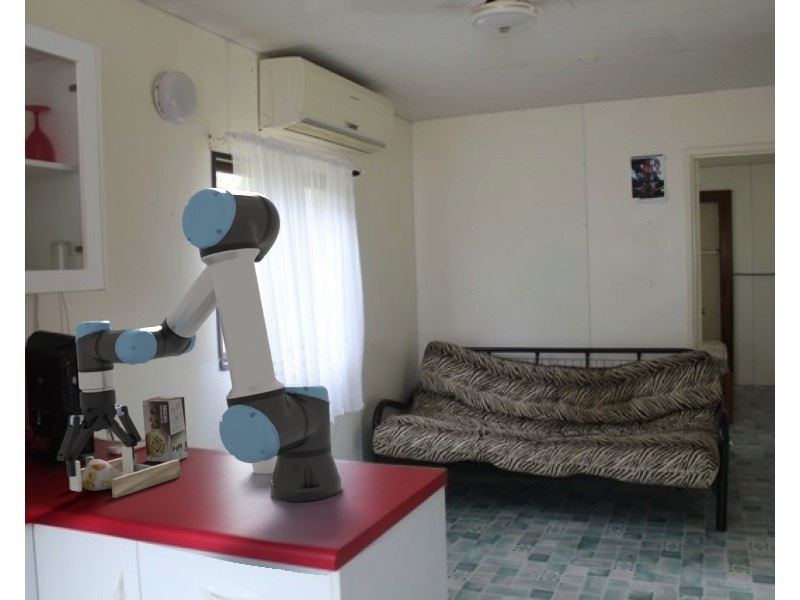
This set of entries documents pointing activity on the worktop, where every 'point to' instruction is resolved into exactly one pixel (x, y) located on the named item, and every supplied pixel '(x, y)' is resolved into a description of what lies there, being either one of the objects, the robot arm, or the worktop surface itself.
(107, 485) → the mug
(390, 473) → the worktop surface
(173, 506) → the worktop surface
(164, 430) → the cookie box
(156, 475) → the bay
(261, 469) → the cup
